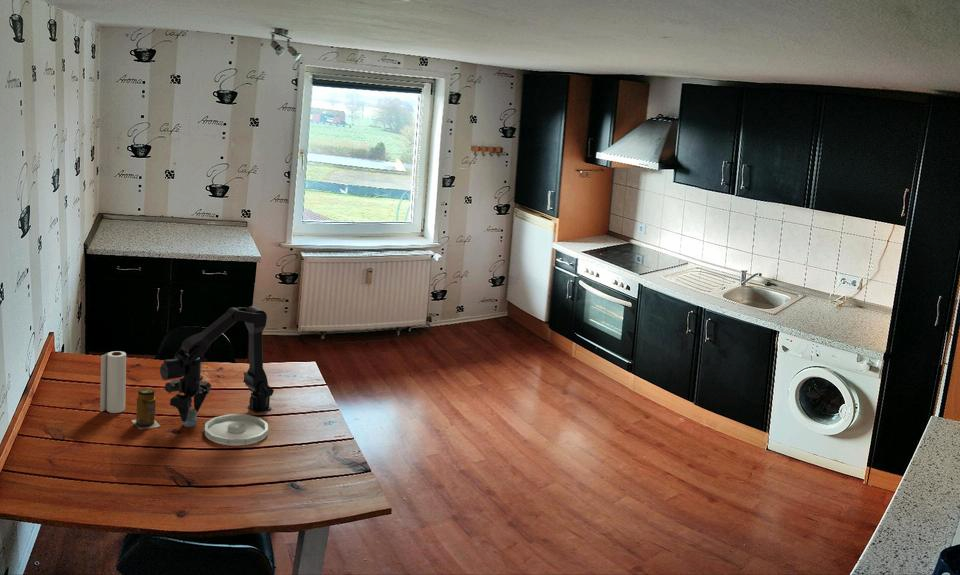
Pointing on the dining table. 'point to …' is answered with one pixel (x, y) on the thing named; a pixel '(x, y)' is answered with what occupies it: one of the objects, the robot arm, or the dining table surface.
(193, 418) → the blue-grey short cylinder
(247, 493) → the dining table surface
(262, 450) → the dining table surface
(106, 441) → the dining table surface
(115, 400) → the paper towel roll
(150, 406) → the condiment
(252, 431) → the tray
